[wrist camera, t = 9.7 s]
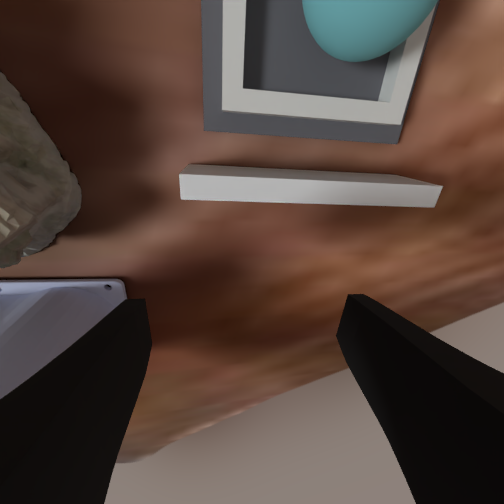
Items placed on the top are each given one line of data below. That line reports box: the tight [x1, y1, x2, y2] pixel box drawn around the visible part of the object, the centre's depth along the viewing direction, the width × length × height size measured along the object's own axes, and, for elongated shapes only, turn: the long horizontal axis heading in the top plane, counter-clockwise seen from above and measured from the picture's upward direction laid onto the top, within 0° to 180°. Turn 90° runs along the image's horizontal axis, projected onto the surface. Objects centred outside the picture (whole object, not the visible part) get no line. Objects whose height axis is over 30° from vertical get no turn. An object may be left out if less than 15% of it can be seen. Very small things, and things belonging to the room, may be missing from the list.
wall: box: [179, 164, 443, 208], centre depth 14 cm, size 14×1×4 cm, turn 86°
